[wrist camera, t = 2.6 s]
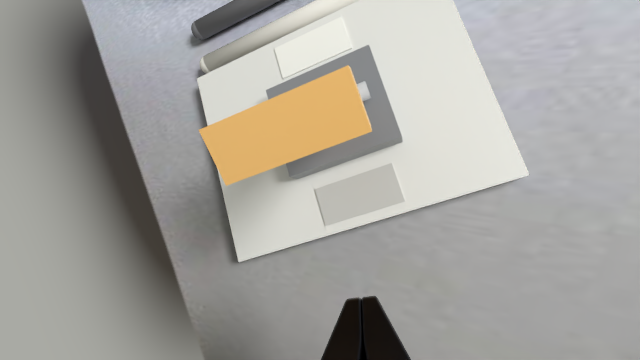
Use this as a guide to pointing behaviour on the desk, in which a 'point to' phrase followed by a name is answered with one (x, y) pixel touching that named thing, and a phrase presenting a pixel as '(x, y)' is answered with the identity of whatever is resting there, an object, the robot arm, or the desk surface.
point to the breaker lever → (289, 126)
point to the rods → (245, 5)
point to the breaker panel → (385, 118)
